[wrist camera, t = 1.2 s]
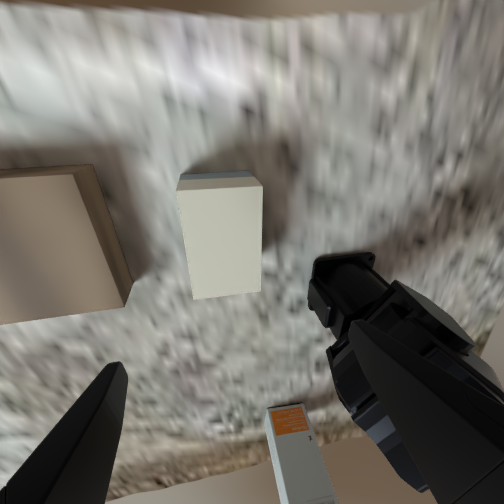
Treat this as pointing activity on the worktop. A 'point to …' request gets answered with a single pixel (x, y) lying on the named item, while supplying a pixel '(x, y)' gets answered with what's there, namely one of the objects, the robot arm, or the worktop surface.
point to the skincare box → (297, 457)
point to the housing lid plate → (222, 234)
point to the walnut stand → (57, 245)
